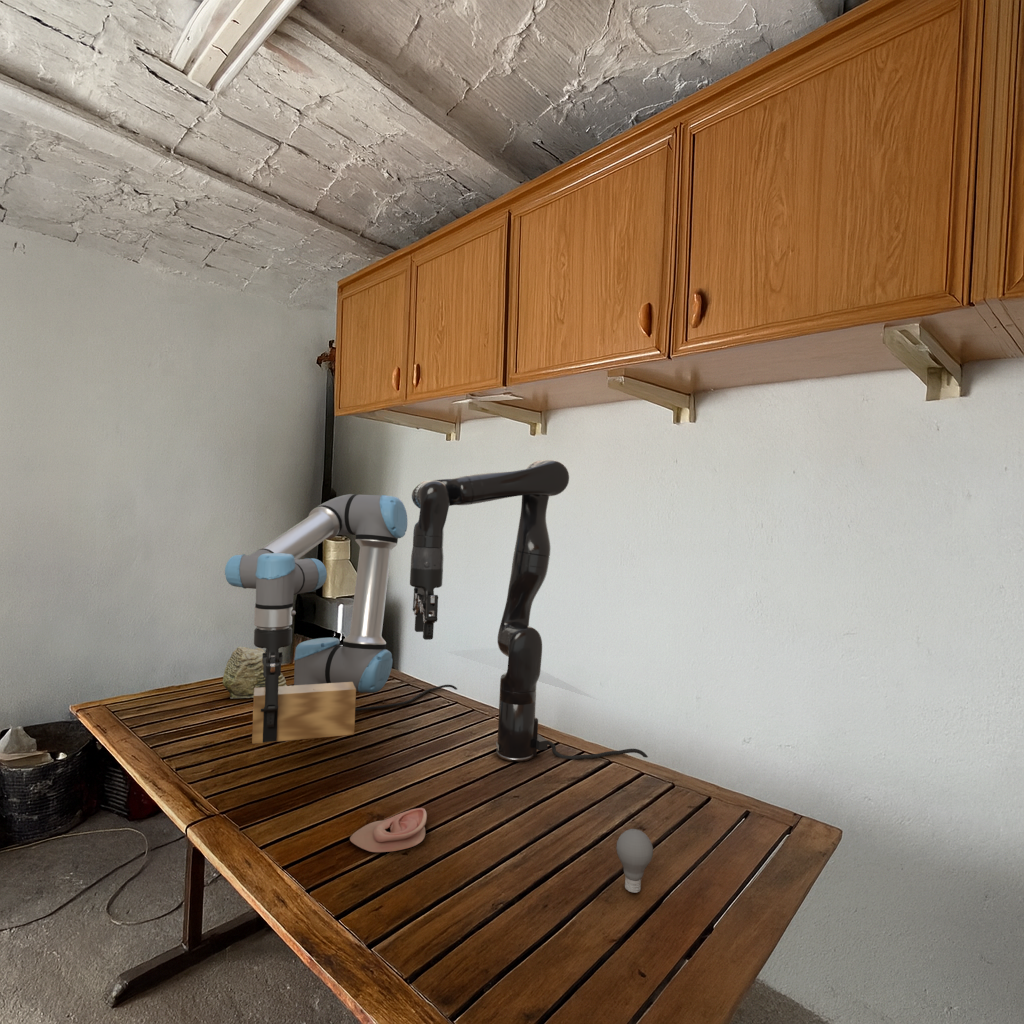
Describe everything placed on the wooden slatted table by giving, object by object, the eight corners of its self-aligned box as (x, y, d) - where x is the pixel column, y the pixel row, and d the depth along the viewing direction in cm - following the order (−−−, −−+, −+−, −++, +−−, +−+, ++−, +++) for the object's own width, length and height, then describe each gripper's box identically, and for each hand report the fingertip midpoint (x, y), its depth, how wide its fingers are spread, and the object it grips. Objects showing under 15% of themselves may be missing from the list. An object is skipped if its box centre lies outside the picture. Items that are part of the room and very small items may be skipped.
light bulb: (610, 879, 108) (613, 822, 108) (644, 879, 109) (647, 822, 109) (619, 902, 102) (622, 840, 102) (655, 901, 103) (658, 840, 103)
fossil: (218, 695, 195) (220, 647, 195) (278, 685, 208) (279, 640, 207) (228, 703, 189) (230, 653, 188) (289, 692, 201) (290, 645, 201)
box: (251, 744, 130) (253, 696, 130) (252, 733, 136) (254, 687, 136) (354, 734, 138) (356, 689, 138) (350, 725, 143) (352, 681, 143)
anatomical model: (342, 825, 115) (369, 797, 126) (341, 847, 115) (368, 817, 126) (412, 836, 112) (433, 806, 123) (411, 859, 112) (432, 826, 123)
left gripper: (294, 635, 127) (289, 750, 127) (290, 617, 144) (286, 718, 145) (253, 637, 124) (249, 754, 124) (255, 618, 141) (251, 721, 142)
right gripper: (450, 569, 142) (447, 641, 143) (435, 563, 156) (431, 628, 156) (418, 569, 140) (414, 642, 140) (404, 562, 153) (401, 629, 153)
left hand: (269, 735), depth 134 cm, fingers closed on box, 6 cm apart
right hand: (423, 635), depth 148 cm, fingers open, 8 cm apart
